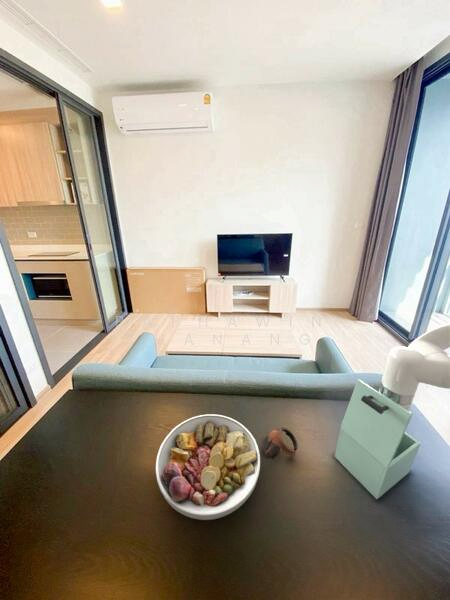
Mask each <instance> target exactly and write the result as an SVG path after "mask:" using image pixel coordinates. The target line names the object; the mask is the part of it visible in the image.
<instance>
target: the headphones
mask: <svg viewBox="0 0 450 600" xmlns="http://www.w3.org/2000/svg"><path fill="white" fill-rule="evenodd" d="M282 432H283V433H285V436H287V437H289V439H290V441H291V442H292V445H293V448H291V447H289V446H288V445H287V444H286V443H285V442H284V440H283V437H282ZM262 447H263V451H264V456H265V457H266V458H267V459H271V460H274V459H275V458H276V457H277V456H279V455H280V453H281V452H282V453H284V454H286V455H288V456H291V457H290V458H289V461H290V462H292V461H293V459H294V458H295V456H296V453H297V450H298V449H299V448H298V447H299V443H298V441H297V438H296V437H295V435H294V434H293V432H292V431H291V430H289V429H288V428H287V427H280V428H277V429H273V430H272V431H270V432H269V433H268V434H267V436H266V437H265V440H264V442H263V446H262Z"/></svg>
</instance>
